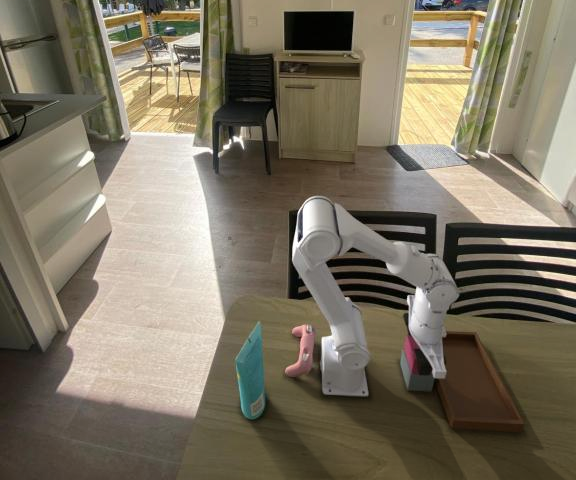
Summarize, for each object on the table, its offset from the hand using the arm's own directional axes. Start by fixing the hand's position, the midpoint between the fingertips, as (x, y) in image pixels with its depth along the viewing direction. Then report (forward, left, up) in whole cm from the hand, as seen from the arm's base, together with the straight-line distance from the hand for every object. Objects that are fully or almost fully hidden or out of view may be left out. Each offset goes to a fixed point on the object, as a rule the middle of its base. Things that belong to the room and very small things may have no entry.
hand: (418, 359), depth 63 cm
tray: (+10, 0, -6) cm, 12 cm away
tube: (-35, -6, -6) cm, 36 cm away
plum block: (0, 0, -1) cm, 1 cm away
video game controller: (-25, +3, -6) cm, 26 cm away
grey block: (0, 0, -6) cm, 6 cm away
